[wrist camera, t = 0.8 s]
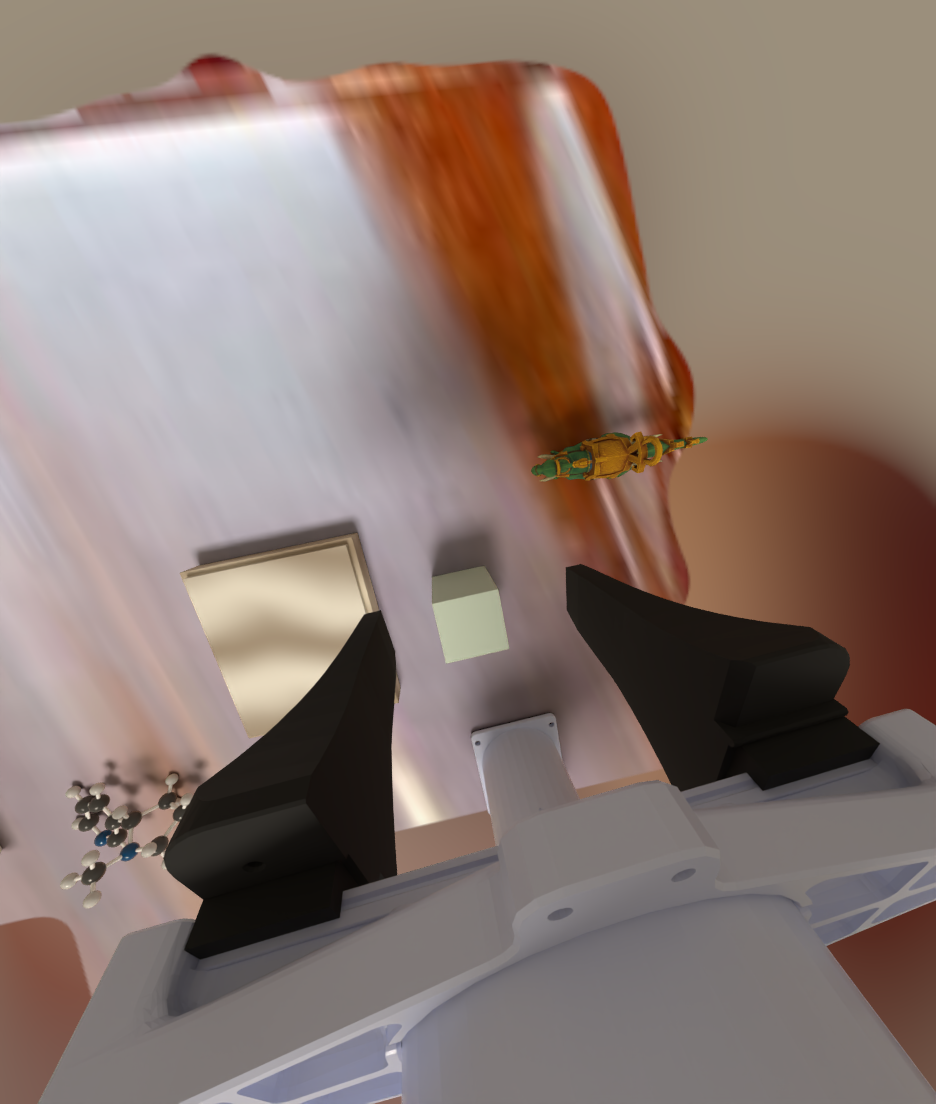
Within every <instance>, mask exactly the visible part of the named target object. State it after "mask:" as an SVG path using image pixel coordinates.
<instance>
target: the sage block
mask: <svg viewBox="0 0 936 1104" xmlns="http://www.w3.org/2000/svg"><path fill="white" fill-rule="evenodd" d="M432 606H433V610H434V615H435V619H436V623H437V627H438V631H439V636H440V640H441V644H442V648H443V653H444V657H445V661H446V664H447V663H451V662H455V661H460V660H464V659H468V658H472V657H477V656H481V655H485V654H489V653H494V652H498V651H502V650H506V649H509V645H508V640H507V634H506V629H505V624H504V618H503V613H502V607H501V602H500V596H499V591H498V588H497V586H496V585H495V583H494V581H493V580H492V578H491V576H490V575H489V573H488V571H487V569H486V568H485V566H480V567H475V568H471V569H466V570H462V571H457V572H453V573H448V574H444V575H439V576H434V577H432Z"/></svg>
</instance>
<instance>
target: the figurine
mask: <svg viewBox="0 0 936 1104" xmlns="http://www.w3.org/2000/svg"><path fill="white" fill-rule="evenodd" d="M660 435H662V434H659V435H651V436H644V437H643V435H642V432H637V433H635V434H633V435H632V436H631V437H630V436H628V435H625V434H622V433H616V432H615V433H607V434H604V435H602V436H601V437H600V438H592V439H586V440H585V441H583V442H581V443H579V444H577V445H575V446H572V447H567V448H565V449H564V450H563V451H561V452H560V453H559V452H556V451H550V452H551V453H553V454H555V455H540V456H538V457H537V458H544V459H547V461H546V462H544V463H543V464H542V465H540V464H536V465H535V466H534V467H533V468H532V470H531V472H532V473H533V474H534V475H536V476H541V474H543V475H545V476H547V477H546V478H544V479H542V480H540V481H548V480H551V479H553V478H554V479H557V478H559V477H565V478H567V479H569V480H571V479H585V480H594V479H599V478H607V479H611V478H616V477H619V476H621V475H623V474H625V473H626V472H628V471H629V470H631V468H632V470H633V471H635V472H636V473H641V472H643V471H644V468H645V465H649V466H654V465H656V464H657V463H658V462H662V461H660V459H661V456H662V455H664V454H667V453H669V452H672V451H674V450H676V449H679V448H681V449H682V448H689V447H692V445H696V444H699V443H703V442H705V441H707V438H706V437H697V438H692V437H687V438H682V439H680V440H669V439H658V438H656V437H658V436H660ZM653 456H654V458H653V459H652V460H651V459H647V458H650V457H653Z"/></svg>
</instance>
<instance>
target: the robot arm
mask: <svg viewBox="0 0 936 1104" xmlns="http://www.w3.org/2000/svg"><path fill="white" fill-rule="evenodd" d="M566 596H567V611H568V613H569V615H570V617H571V619H572V621H573V622H574V624H575V626H576V628H577V630H578V631H579V633H580V634H581V636H582V637H583V638H584V640H585V641H586V643H587V644H588V645H589V647H590V648H591V649H592V651H593V652H594V653H595V655H596V656H597V658H598V659H599V660H600V662H601V663H602V664H603V666H604V667H605V668H606V670H607V671H608V673H609V674H610V675H611V677H612V678H613V680H614V681H615V683H616V684H617V686H618V687H619V689H620V690H621V692H622V694H623V696H624V697H625V699H626V701H627V702H628V704H629V706H630V707H631V709H632V711H633V713H634V714H635V716H636V718H637V720H638V722H639V723H640V725H641V727H642V729H643V731H644V732H645V734H646V736H647V738H648V740H649V742H650V744H651V746H652V747H653V749H654V751H655V753H656V755H657V757H658V759H659V761H660V763H661V765H662V767H663V768H664V771H665V773H666V775H667V777H668V779H669V781H670V783H671V785H670V784H667V783H664V782H661V781H659V780H655V781H647V782H640V783H635V784H632V785H629V786H625V787H621V788H618V789H615V790H611V791H608V792H604V793H601V794H597V795H594V796H591V797H587V798H583V799H579V796H578V794H577V792H576V789H575V787H574V785H573V783H572V781H571V779H570V776H569V774H568V772H567V770H566V768H565V766H564V763H563V761H562V755H561V749H560V742H559V736H558V729H557V723H556V718H555V716H554V714H552V713H548V714H544V715H540V716H536V717H532V718H528V719H524V720H520V721H516V722H511V723H507V724H503V725H499V726H495V727H491V728H487V729H483V730H479V731H475V732H473V733H472V735H471V740H472V744H473V749H474V753H475V757H476V762H477V766H478V770H479V775H480V779H481V784H482V788H483V792H484V797H485V801H486V805H487V810H488V813H489V814H491V820H492V826H493V831H494V837H495V843H496V846H495V847H492V848H488V849H485V850H482V851H478V852H475V853H471V854H468V855H464V856H461V857H458V858H454V859H451V860H448V861H444V862H441V863H437V864H434V865H430V866H427V867H424V868H420V869H417V870H414V871H410V872H407V873H404V874H400V875H397V864H396V850H395V832H394V813H393V788H392V751H391V744H392V726H393V713H394V700H395V687H396V660H395V650H394V647H393V644H392V641H391V638H390V636H389V633H388V630H387V627H386V624H385V621H384V618H383V616H382V613H381V610H380V611H376V612H371V613H367V614H364V615H363V617H362V618H361V620H360V621H359V623H358V624H357V626H356V628H355V629H354V631H353V632H352V634H351V635H350V637H349V639H348V640H347V642H346V643H345V645H344V646H343V648H342V649H341V651H340V652H339V653H338V655H337V656H336V658H335V659H334V660H333V662H332V663H331V664H330V666H329V667H328V668H327V670H326V671H325V672H324V674H323V675H322V676H321V678H320V679H319V680H318V681H317V682H316V684H315V685H314V686H313V687H312V688H311V689H310V690H309V692H308V693H307V694H306V695H305V696H304V697H303V698H302V699H301V700H300V701H299V702H298V703H297V704H296V705H295V706H294V707H293V708H292V709H291V710H290V711H289V712H288V713H287V714H286V715H285V716H284V717H283V718H282V719H281V720H280V721H279V722H278V723H277V724H276V725H275V726H274V727H273V728H272V729H271V730H269V731H268V732H267V733H266V734H265V735H264V736H263V737H262V738H260V739H259V740H258V741H257V742H256V743H255V744H253V745H252V746H251V747H250V748H249V749H247V750H246V751H245V752H244V753H242V754H241V755H240V756H239V757H238V758H236V759H235V760H234V761H232V762H231V763H230V764H228V765H227V766H226V767H224V768H223V769H222V770H220V771H219V772H218V773H217V774H215V775H214V776H213V777H211V778H210V779H209V780H207V781H206V782H205V783H203V784H202V785H200V786H199V787H198V788H197V790H196V792H195V794H194V795H193V797H192V799H191V801H190V803H189V805H188V807H187V809H186V811H185V813H184V815H183V817H182V819H181V821H180V823H179V825H178V827H177V829H176V831H175V833H174V834H173V836H172V838H171V840H170V842H169V844H168V846H167V848H166V851H165V854H164V857H163V859H164V863H165V867H166V869H167V870H168V872H169V873H170V874H171V875H172V876H173V877H174V878H175V879H177V880H178V881H179V882H181V883H182V884H183V885H185V886H186V887H187V888H189V889H190V890H191V891H193V892H194V893H195V894H197V895H198V896H199V897H201V898H202V899H203V902H202V905H201V907H200V910H199V913H198V915H197V918H196V920H194V919H179V920H173V921H170V922H167V923H163V924H160V925H156V926H153V927H149V928H146V929H142V930H139V931H135V932H132V933H129V934H127V935H126V936H124V937H123V938H122V939H121V941H120V943H119V945H118V947H117V949H116V951H115V953H114V955H113V957H112V958H111V960H110V962H109V964H108V966H107V968H106V970H105V972H104V974H103V976H102V978H101V980H100V982H99V984H98V986H97V988H96V990H95V992H94V994H93V996H92V998H91V1000H90V1002H89V1004H88V1006H87V1008H86V1010H85V1012H84V1014H83V1016H82V1018H81V1020H80V1021H79V1023H78V1025H77V1027H76V1029H75V1032H74V1033H73V1035H72V1037H71V1039H70V1041H69V1043H68V1045H67V1047H66V1049H65V1051H64V1053H63V1055H62V1057H61V1059H60V1061H59V1063H58V1065H57V1067H56V1069H55V1071H54V1073H53V1075H52V1077H51V1079H50V1081H49V1083H48V1085H47V1086H46V1088H45V1090H44V1092H43V1094H42V1096H41V1098H40V1100H39V1102H38V1104H373V1103H377V1102H381V1101H384V1100H388V1099H391V1098H395V1097H399V1096H402V1104H936V1092H935V1091H934V1090H933V1088H932V1087H931V1085H930V1084H929V1083H928V1082H927V1080H926V1079H925V1077H924V1076H923V1075H922V1073H921V1072H920V1071H919V1070H918V1068H917V1067H916V1066H915V1064H914V1063H913V1062H912V1060H911V1059H910V1057H909V1056H908V1055H907V1053H906V1052H905V1051H904V1050H903V1048H902V1047H901V1046H900V1044H899V1043H898V1041H897V1040H896V1039H895V1038H894V1036H893V1035H892V1034H891V1032H890V1031H889V1030H888V1028H887V1027H886V1026H885V1024H884V1023H883V1022H882V1020H881V1019H880V1018H879V1016H878V1015H877V1014H876V1012H875V1011H874V1010H873V1008H872V1007H871V1006H870V1004H869V1003H868V1002H867V1000H866V999H865V998H864V996H863V995H862V994H861V992H860V991H859V990H858V988H857V987H856V986H855V984H854V983H853V982H852V980H851V979H850V978H849V976H848V975H847V974H846V972H845V971H844V970H843V968H842V967H841V966H840V964H839V963H838V962H837V961H836V959H835V958H834V956H833V955H832V954H831V952H830V951H829V950H828V948H827V947H826V946H827V945H829V944H832V943H834V942H836V941H839V940H841V939H843V938H846V937H848V936H850V935H853V934H855V933H858V932H860V931H862V930H865V929H867V928H869V927H872V926H874V925H877V924H879V923H881V922H884V921H886V920H889V919H890V918H893V917H896V916H898V915H901V914H903V913H905V912H908V911H910V910H912V909H915V908H918V907H920V906H923V905H925V904H927V903H930V902H932V901H935V900H936V726H935V725H934V724H932V723H931V722H929V721H928V720H926V719H924V718H923V717H921V716H920V715H918V714H917V713H915V712H914V711H912V710H910V709H902V710H899V711H895V712H892V713H888V714H885V715H882V716H878V717H875V718H871V719H869V720H867V721H865V722H864V723H862V724H861V725H859V726H856V725H855V724H854V723H852V722H851V721H850V720H848V719H847V718H846V717H844V716H845V715H847V714H848V710H847V708H846V707H844V706H843V705H841V704H840V703H839V702H838V701H836V700H835V699H834V697H835V695H836V693H837V691H838V690H839V688H840V686H841V684H842V682H843V680H844V678H845V676H846V674H847V671H848V669H849V666H850V657H849V654H848V652H847V650H846V649H845V648H843V647H842V646H840V645H839V644H837V643H835V642H834V641H832V640H830V639H829V638H827V637H826V636H824V635H822V634H821V633H819V632H817V631H816V630H814V629H813V628H811V627H804V626H795V625H787V624H778V623H770V622H762V621H756V620H749V619H744V618H738V617H733V616H728V615H723V614H718V613H714V612H710V611H705V610H701V609H697V608H693V607H689V606H686V605H683V604H679V603H676V602H673V601H670V600H666V599H663V598H660V597H658V596H655V595H652V594H650V593H647V592H644V591H642V590H639V589H637V588H634V587H632V586H629V585H627V584H625V583H622V582H620V581H618V580H616V579H614V578H611V577H609V576H607V575H605V574H603V573H600V572H598V571H596V570H594V569H592V568H589V567H587V566H584V565H582V564H579V565H575V566H570V567H566ZM551 722H553V723H552V724H550V723H551ZM476 741H479V742H476Z"/></svg>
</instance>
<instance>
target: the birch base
mask: <svg viewBox="0 0 936 1104" xmlns="http://www.w3.org/2000/svg"><path fill="white" fill-rule="evenodd" d="M180 575H181V577H182V580H183V582H184V584H185V587H186V589H187V592H188V594H189V596H190V599H191V601H192V604H193V606H194V608H195V611H196V613H197V615H198V618H199V620H200V623H201V625H202V627H203V630H204V632H205V635H206V637H207V639H208V642H209V644H210V646H211V649H212V651H213V654H214V656H215V658H216V661H217V663H218V666H219V668H220V670H221V673H222V675H223V677H224V680H225V682H226V685H227V687H228V689H229V692H230V694H231V697H232V699H233V701H234V704H235V706H236V708H237V711H238V713H239V716H240V718H241V720H242V723H243V725H244V728H245V730H246V732H247V735H248V737H249V738H253V737H258V736H262V735H265V734H266V733H267V732H268V731H269V730H271V729H272V728H273V727H274V726H275V725H276V724H277V723H278V722H279V721H280V720H281V719H282V718H283V717H284V716H285V715H286V714H287V713H288V712H289V711H290V710H291V709H292V708H293V707H294V706H295V705H296V704H297V703H298V702H299V701H300V700H301V699H302V698H303V697H304V696H305V695H306V694H307V693H308V692H309V690H310V689H311V688H312V687H313V686H314V685H315V684H316V682H317V681H318V680H319V679H320V678H321V676H322V675H323V674H324V672H325V671H326V670H327V668H328V667H329V666H330V664H331V663H332V662H333V660H334V659H335V658H336V656H337V655H338V653H339V652H340V651H341V649H342V648H343V646H344V645H345V643H346V642H347V640H348V639H349V637H350V635H351V634H352V632H353V631H354V629H355V628H356V626H357V624H358V623H359V621H360V620H361V618H362V617H363V615H364V614H367V613H371V612H376V611H379V608H378V604H377V601H376V597H375V594H374V590H373V586H372V583H371V579H370V576H369V572H368V568H367V565H366V561H365V558H364V554H363V551H362V547H361V543H360V540H359V536H358V533H353V534H348V535H343V536H339V537H334V538H329V539H324V540H319V541H315V542H310V543H305V544H300V545H295V546H291V547H286V548H281V549H276V550H271V551H267V552H262V553H257V554H252V555H247V556H243V557H238V558H233V559H228V560H223V561H219V562H214V563H209V564H204V565H199V566H197V567H194V568H191V569H189V570H186V571H184V572H181V573H180ZM400 689H401V687H400V683H399V680H398V676H397V673H396V687H395V700H394V704H395V703H399V696H400Z"/></svg>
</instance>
